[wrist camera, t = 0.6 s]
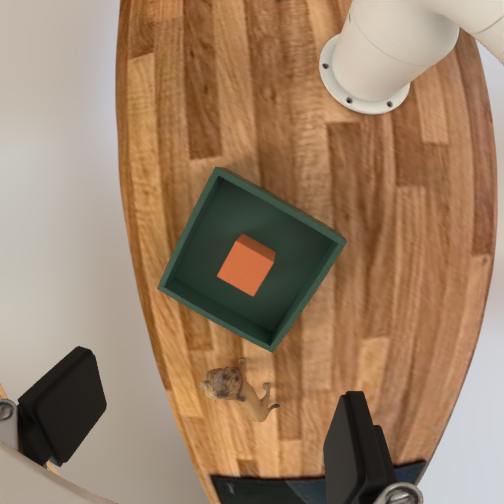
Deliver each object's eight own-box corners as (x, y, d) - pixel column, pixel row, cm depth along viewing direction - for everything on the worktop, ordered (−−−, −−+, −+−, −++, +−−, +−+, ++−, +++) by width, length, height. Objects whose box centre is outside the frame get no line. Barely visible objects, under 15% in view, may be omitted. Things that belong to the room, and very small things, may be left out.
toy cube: (242, 232, 39) (235, 240, 34) (275, 251, 39) (274, 262, 35) (225, 264, 41) (216, 276, 36) (257, 282, 41) (253, 296, 36)
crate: (223, 167, 38) (215, 166, 34) (341, 234, 38) (347, 241, 34) (168, 278, 42) (156, 288, 38) (274, 337, 43) (272, 353, 39)
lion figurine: (205, 359, 45) (189, 394, 37) (227, 341, 44) (213, 376, 35) (269, 410, 47) (264, 448, 38) (292, 396, 45) (291, 434, 37)
